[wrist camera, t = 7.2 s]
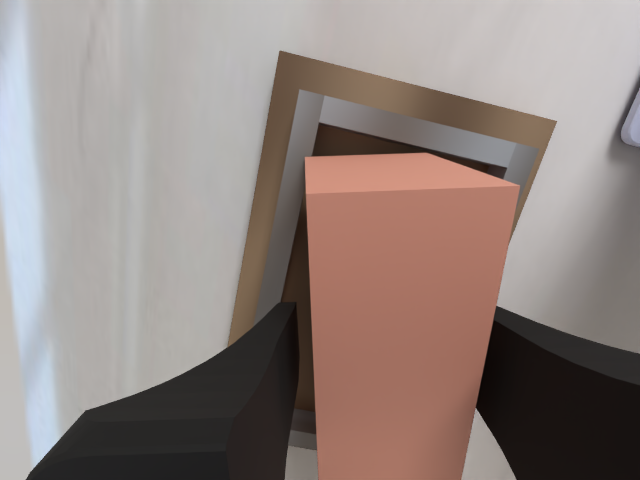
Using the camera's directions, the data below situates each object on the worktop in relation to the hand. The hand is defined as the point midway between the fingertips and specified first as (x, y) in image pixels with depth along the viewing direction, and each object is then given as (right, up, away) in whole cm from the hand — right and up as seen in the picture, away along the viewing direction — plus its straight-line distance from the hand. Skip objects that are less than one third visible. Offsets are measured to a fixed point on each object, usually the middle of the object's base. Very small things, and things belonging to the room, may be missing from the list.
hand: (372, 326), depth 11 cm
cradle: (0, +1, +3) cm, 3 cm away
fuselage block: (0, +1, +2) cm, 2 cm away
